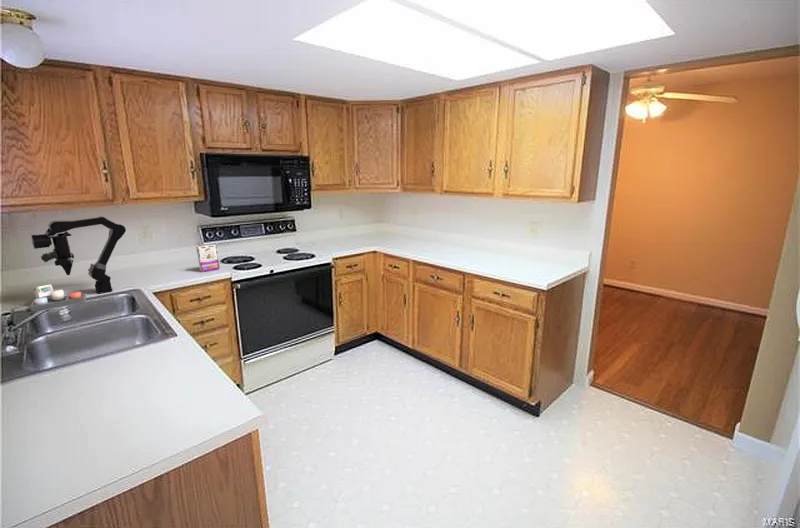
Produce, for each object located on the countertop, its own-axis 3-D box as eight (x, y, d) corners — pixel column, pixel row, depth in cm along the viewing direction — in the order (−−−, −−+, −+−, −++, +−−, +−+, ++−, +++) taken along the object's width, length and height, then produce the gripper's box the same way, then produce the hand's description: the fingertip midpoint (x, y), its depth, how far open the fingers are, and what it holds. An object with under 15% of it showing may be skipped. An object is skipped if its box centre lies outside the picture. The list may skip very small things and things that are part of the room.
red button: (82, 298, 196) (80, 290, 195) (82, 300, 192) (80, 293, 191) (71, 300, 193) (69, 292, 192) (70, 302, 189) (68, 295, 188)
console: (86, 297, 198) (85, 292, 198) (85, 302, 191) (83, 297, 190) (34, 305, 187) (33, 300, 186) (31, 311, 179) (29, 306, 179)
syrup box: (48, 287, 198) (51, 283, 189) (51, 297, 199) (54, 294, 189) (33, 290, 194) (35, 286, 184) (37, 301, 194) (39, 297, 185)
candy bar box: (217, 267, 254) (214, 244, 250) (219, 269, 251) (216, 245, 246) (199, 271, 247) (195, 246, 243) (201, 272, 243) (197, 247, 239)
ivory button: (65, 296, 191) (63, 289, 190) (64, 299, 188) (62, 291, 187) (53, 298, 189) (51, 290, 188) (52, 301, 185) (50, 293, 184)
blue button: (49, 304, 188) (47, 296, 187) (48, 306, 185) (46, 298, 184) (36, 306, 185) (34, 298, 184) (35, 308, 182) (33, 300, 181)
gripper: (42, 244, 193) (50, 273, 197) (37, 250, 179) (45, 282, 183) (70, 242, 200) (77, 270, 204) (67, 247, 185) (75, 277, 189)
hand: (68, 275), depth 195 cm, fingers closed
